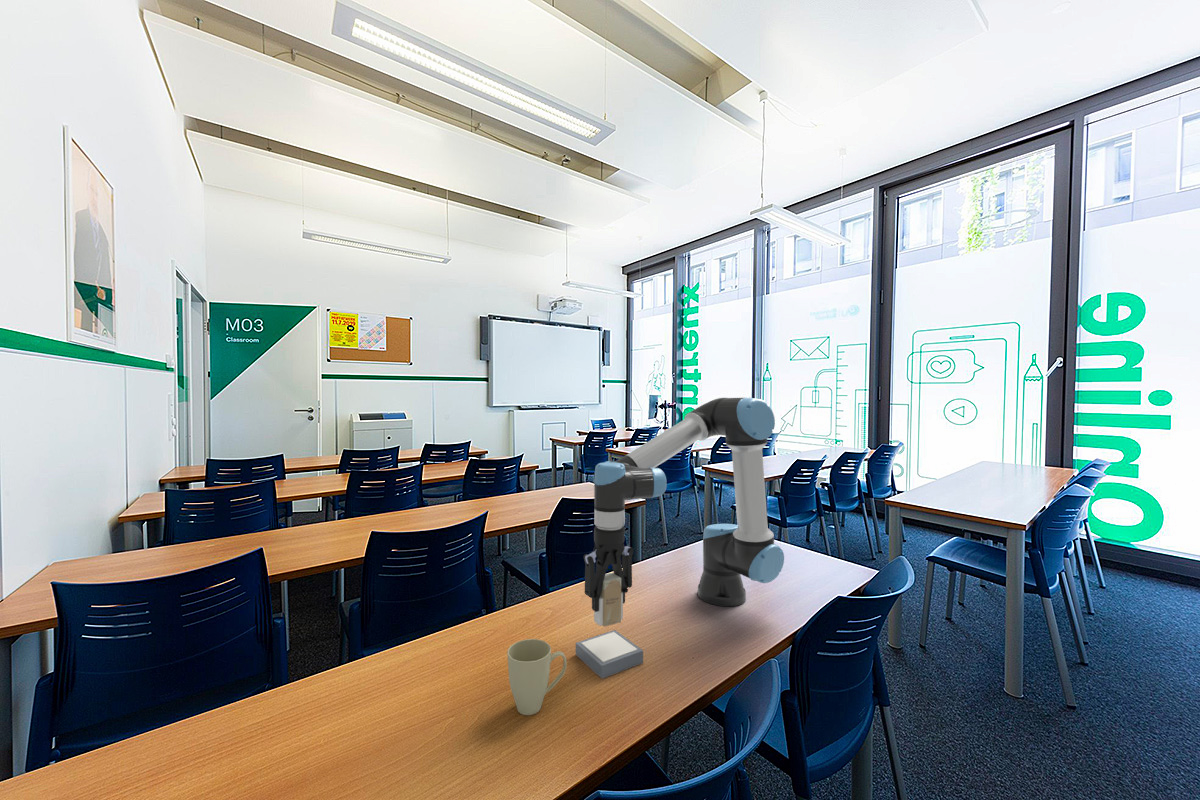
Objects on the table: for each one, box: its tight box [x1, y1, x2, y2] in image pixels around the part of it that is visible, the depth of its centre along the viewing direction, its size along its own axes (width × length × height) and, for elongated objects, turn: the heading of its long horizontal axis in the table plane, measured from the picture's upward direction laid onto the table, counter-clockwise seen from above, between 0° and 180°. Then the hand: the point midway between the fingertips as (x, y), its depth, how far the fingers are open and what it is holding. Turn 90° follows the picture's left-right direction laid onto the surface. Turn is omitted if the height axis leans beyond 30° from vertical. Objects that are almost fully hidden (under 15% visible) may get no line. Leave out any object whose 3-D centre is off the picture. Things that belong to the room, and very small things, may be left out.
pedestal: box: [575, 629, 644, 680], centre depth 115 cm, size 12×12×3 cm
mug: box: [506, 638, 568, 716], centre depth 98 cm, size 11×10×12 cm
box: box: [600, 572, 622, 627], centre depth 115 cm, size 5×4×11 cm
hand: (608, 619), depth 115 cm, fingers closed on box, 5 cm apart
